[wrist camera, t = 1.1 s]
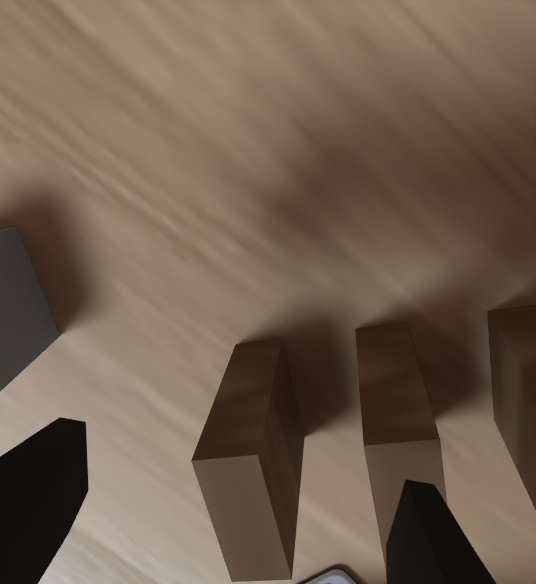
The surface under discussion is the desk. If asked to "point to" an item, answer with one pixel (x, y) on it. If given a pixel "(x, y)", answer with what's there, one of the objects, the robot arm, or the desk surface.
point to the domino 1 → (21, 309)
